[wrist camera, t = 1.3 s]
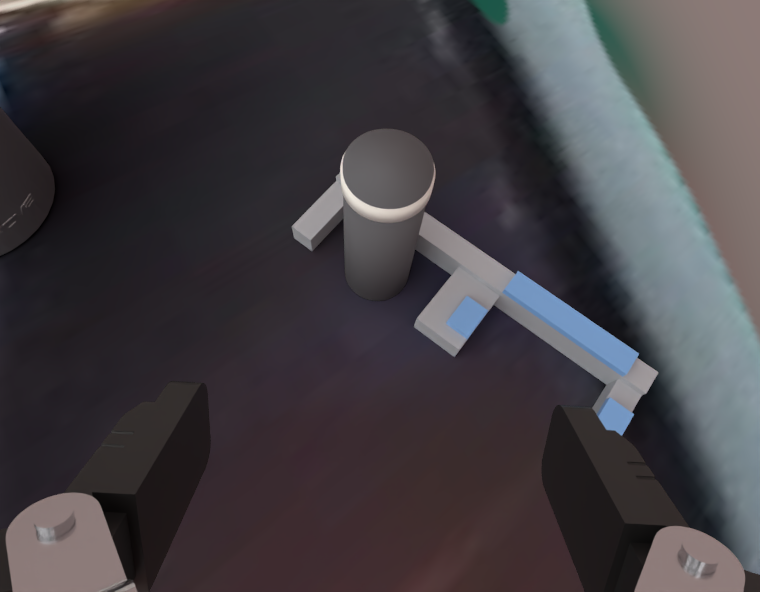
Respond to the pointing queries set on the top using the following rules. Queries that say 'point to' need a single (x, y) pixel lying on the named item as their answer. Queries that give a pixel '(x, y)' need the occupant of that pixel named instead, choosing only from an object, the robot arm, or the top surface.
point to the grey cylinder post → (383, 209)
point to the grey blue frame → (503, 308)
